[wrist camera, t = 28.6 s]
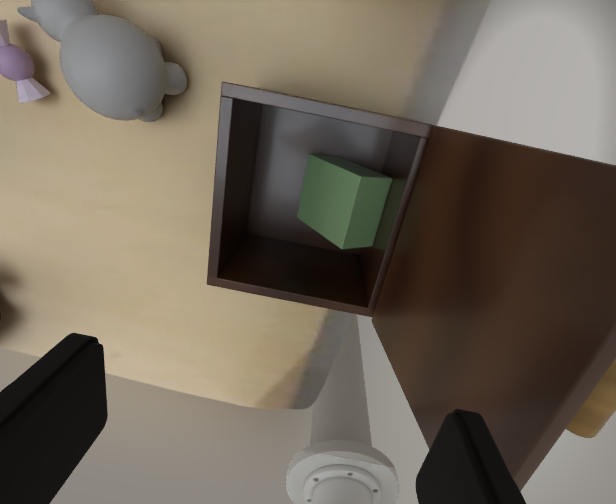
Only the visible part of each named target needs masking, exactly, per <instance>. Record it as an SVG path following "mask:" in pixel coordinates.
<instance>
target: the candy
mask: <svg viewBox="0 0 616 504" xmlns="http://www.w3.org/2000/svg"><path fill="white" fill-rule="evenodd" d="M33 73H34V64H33V61H32V59H31V57H30V56H29V55H28V54H27V52H25V51H24V50H23V49H22V48H20V47H18V46H16V45H13V44H10V40H9V34H8V27H7V21H6V20H0V74H1V75H2V76H4V77H6V78H8V79H10V80H13V81H16V86H17V93H18V99H19V102H20V103H23V102H30V101H33V100H37V99H40V98H43V97H45V96H47V95H49V94H51V93H50V91H48V90H47V89H46V88H44V87H43V86H42V85H41V84H39V83H38V82H37V81H36V80H34V79H33V78H32V77H31V76H32V75H33Z"/></svg>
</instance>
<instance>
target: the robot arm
mask: <svg viewBox="0 0 616 504" xmlns="http://www.w3.org/2000/svg"><path fill="white" fill-rule="evenodd" d="M107 415H108V414H107V399H106V383H105V367H104V351H103V345H102V344H99V342H98V339H97V338H96V337H92V336H87V335H82V334H77V333H71V334H69V335H68V336H66V337H65V338H64V339H63V340H62V341H61V342H59V343H58V344H57V345H56V346H55V347H53V348H52V349H51V350H50V351H49V352H48V353H46V354H45V355H44V356H43V357H42V358H41V359H40V360H38V361H37V362H36V363H35V364H34V365H32V366H31V367H30V368H29V369H28V370H27V371H25V372H24V373H23V374H22V375H21V376H20V377H18V378H17V379H16V380H15V381H14V382H12V383H11V384H10V385H8V386H7V387H6V388H4V389H3V390H2V391H1V392H0V504H50V502H51V501H52V499H53V498H54V497H55V495H56V494H57V492H58V491H59V490H60V488H61V487H62V485H63V484H64V483H65V481H66V480H67V478H68V477H69V476H70V474H71V473H72V471H73V470H74V469H75V467H76V466H77V465H78V463H79V462H80V460H81V459H82V458H83V456H84V455H85V453H86V452H87V451H88V449H89V448H90V447H91V445H92V444H93V442H94V441H95V439H96V438H97V437H98V435H99V434H100V433H101V431H102V430H103V428H104V426H105V424H106V421H107ZM416 493H417V498H418V502H419V504H526V503H525V500H524V498H523V496H522V494H521V492H520V490H519V488H518V486H517V484H516V483H515V481H514V480H513V478H512V476H511V474H510V472H509V470H508V468H507V466H506V464H505V462H504V460H503V458H502V456H501V454H500V452H499V450H498V448H497V446H496V443H495V441H494V439H493V437H492V435H491V433H490V431H489V429H488V427H487V425H486V423H485V421H484V419H483V417H482V416H481V414H479V413H477V412H472V411H467V410H462V409H455V410H454V411H453V413H448V414H447V415H446V417H445V419H444V421H443V423H442V425H441V427H440V429H439V431H438V433H437V436H436V438H435V440H434V442H433V444H432V446H431V448H430V450H429V452H428V454H427V456H426V458H425V461H424V462H423V465H422V467H421V469H420V471H419V473H418V475H417V478H416ZM303 496H304V499H305V501H306V503H307V504H380V501H381V488H380V484H379V482H378V481H377V479H376V478H375V477H374V476H373V475H372V474H370V473H369V472H367V471H365V470H364V469H361V468H359V467H356V466H351V465H344V464H334V465H328V466H324V467H321V468H319V469H317V470H315V471H313V472H312V473H311V474H309V476H308V477H307V478H306V480H305V482H304V487H303Z"/></svg>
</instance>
